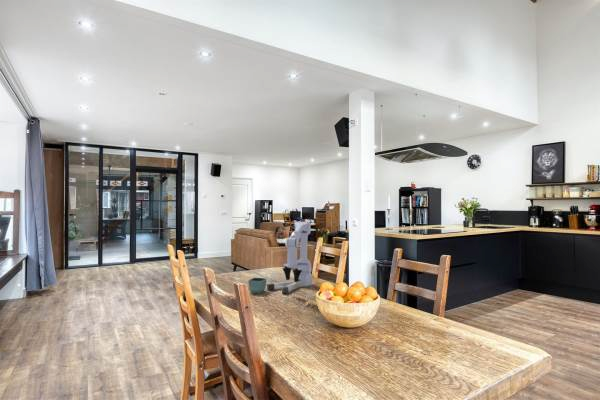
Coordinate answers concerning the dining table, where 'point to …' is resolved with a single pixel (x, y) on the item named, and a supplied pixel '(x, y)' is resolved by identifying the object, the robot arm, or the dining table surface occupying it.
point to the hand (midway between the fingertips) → (291, 280)
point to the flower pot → (257, 285)
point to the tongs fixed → (282, 285)
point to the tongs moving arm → (289, 288)
